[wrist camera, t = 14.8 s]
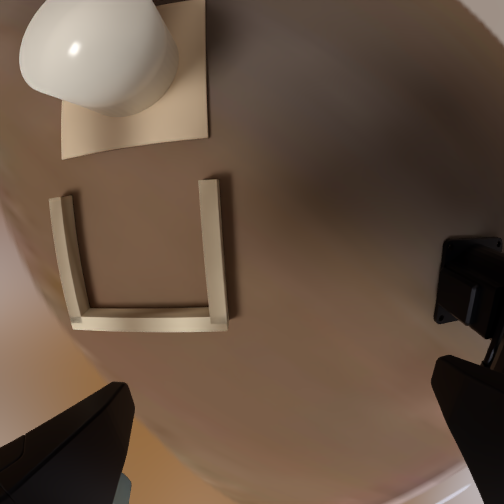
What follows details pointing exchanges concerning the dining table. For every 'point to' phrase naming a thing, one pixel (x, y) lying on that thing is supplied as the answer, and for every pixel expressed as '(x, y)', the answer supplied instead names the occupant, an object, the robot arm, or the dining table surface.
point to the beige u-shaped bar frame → (144, 317)
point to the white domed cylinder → (100, 54)
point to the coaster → (161, 112)
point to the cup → (122, 490)
